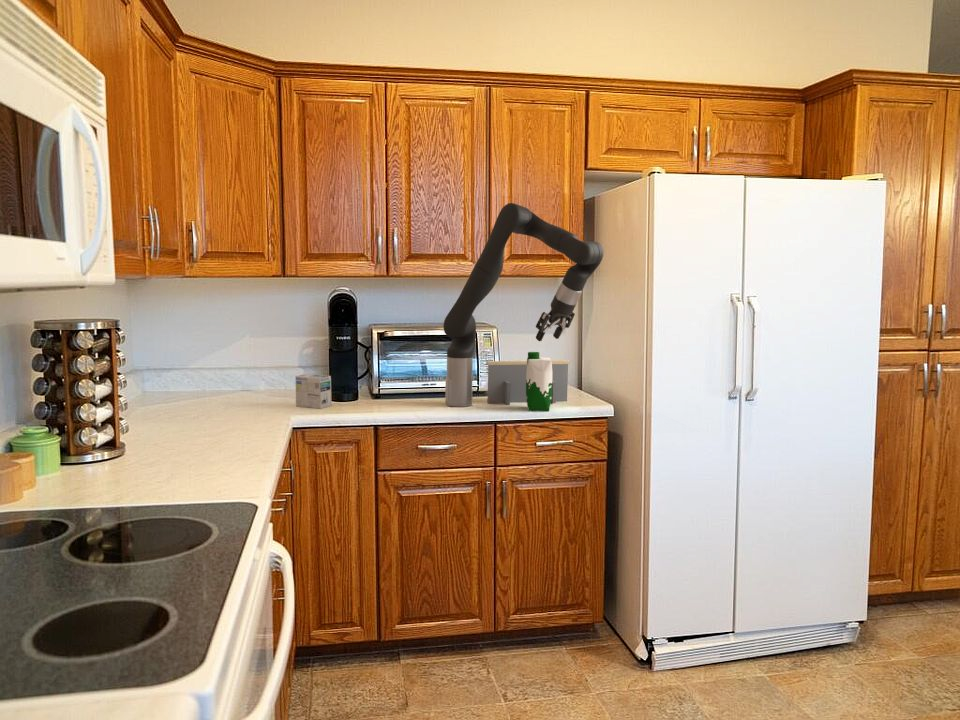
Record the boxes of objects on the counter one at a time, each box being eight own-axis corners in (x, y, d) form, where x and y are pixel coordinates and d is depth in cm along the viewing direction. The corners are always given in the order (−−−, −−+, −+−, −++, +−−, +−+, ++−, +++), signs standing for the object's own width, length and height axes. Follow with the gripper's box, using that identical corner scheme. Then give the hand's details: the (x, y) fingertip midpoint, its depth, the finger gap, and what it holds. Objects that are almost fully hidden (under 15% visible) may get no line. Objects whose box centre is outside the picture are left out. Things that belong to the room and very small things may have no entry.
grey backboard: (489, 405, 261) (490, 363, 259) (485, 401, 267) (486, 361, 265) (572, 403, 267) (573, 362, 265) (566, 399, 274) (567, 360, 272)
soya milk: (524, 406, 260) (526, 350, 257) (550, 407, 259) (552, 351, 257) (526, 411, 251) (527, 353, 248) (552, 412, 251) (553, 354, 248)
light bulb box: (332, 405, 256) (331, 375, 255) (321, 409, 250) (320, 378, 248) (306, 403, 260) (306, 373, 259) (295, 406, 254) (294, 375, 252)
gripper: (573, 290, 240) (553, 330, 248) (544, 292, 231) (524, 334, 239) (588, 302, 236) (568, 343, 244) (559, 305, 226) (539, 347, 235)
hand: (546, 338), depth 241 cm, fingers open, 8 cm apart
